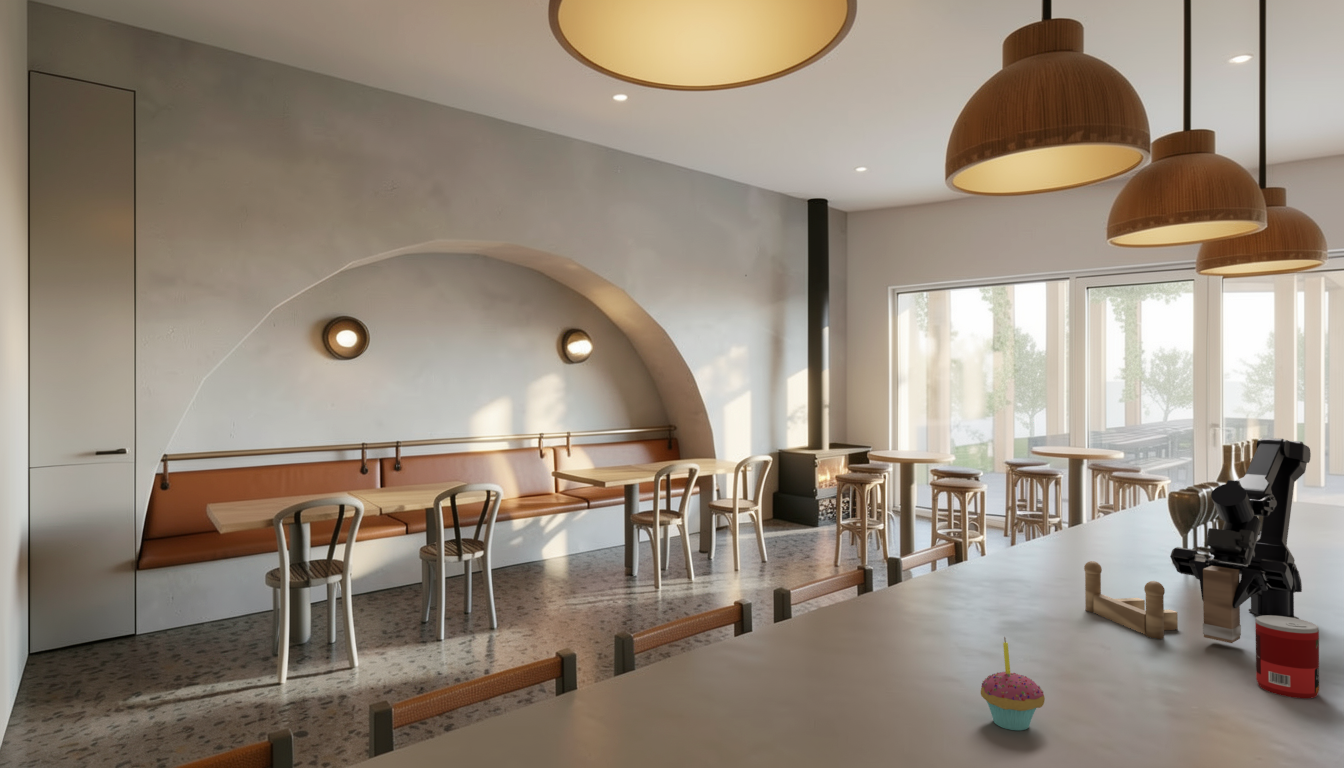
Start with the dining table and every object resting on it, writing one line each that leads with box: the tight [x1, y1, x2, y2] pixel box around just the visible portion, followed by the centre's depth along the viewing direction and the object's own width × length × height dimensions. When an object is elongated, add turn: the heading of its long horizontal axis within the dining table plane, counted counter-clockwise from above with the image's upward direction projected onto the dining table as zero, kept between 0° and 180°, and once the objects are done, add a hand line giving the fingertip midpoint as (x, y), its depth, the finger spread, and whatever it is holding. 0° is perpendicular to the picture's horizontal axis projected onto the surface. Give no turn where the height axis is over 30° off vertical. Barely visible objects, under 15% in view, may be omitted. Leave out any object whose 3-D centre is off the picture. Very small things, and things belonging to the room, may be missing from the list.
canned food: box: [1254, 615, 1320, 700], centre depth 124 cm, size 8×8×11 cm
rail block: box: [1202, 566, 1242, 644], centre depth 146 cm, size 5×5×13 cm
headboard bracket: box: [1083, 560, 1179, 640], centre depth 160 cm, size 10×21×11 cm, turn 7°
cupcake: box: [980, 636, 1046, 731], centre depth 111 cm, size 9×8×12 cm
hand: (1218, 604), depth 145 cm, fingers closed on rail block, 4 cm apart
